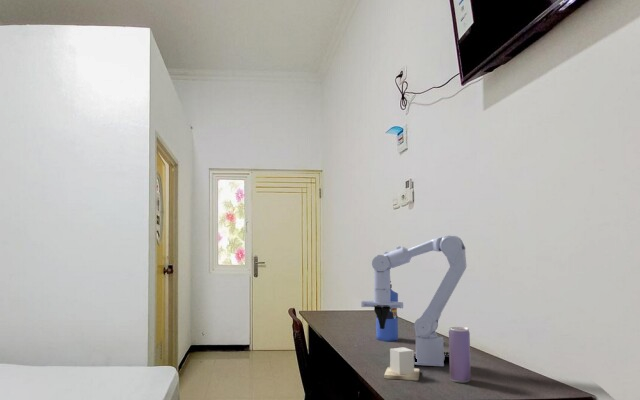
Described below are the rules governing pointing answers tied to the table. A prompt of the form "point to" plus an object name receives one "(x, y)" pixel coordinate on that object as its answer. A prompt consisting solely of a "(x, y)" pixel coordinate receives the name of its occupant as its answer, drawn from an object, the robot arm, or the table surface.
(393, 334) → the water bottle
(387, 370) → the beige square base
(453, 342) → the beverage can
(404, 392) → the table surface
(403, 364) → the white rectangular block
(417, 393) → the table surface
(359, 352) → the table surface
